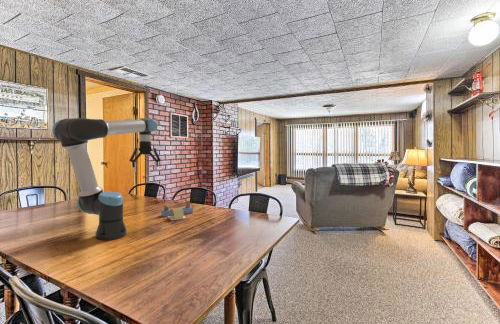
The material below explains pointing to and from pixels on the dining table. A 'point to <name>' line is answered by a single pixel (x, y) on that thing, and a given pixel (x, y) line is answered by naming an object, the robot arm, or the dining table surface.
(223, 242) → the dining table surface
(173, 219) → the felt mat
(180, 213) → the lever cap
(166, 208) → the plane body
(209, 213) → the dining table surface
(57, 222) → the dining table surface
